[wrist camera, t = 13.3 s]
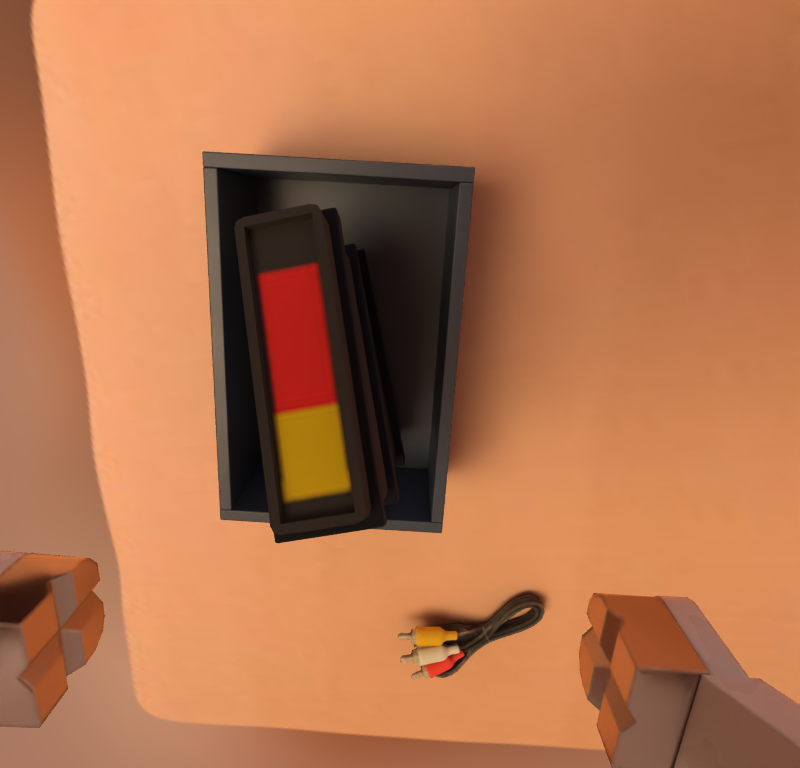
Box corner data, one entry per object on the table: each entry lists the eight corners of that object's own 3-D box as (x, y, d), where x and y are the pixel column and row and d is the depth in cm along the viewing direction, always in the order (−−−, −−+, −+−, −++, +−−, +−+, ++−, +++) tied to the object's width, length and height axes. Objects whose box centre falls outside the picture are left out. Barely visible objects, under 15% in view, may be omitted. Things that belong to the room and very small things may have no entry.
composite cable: (537, 585, 36) (546, 612, 33) (551, 642, 37) (561, 671, 35) (394, 617, 37) (393, 645, 34) (413, 671, 38) (413, 702, 36)
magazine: (351, 507, 32) (262, 549, 17) (321, 294, 34) (217, 165, 19) (414, 497, 31) (379, 531, 17) (380, 282, 33) (321, 143, 19)
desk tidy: (247, 165, 28) (201, 151, 22) (461, 177, 28) (475, 167, 22) (255, 463, 33) (220, 520, 27) (436, 474, 33) (441, 533, 27)
